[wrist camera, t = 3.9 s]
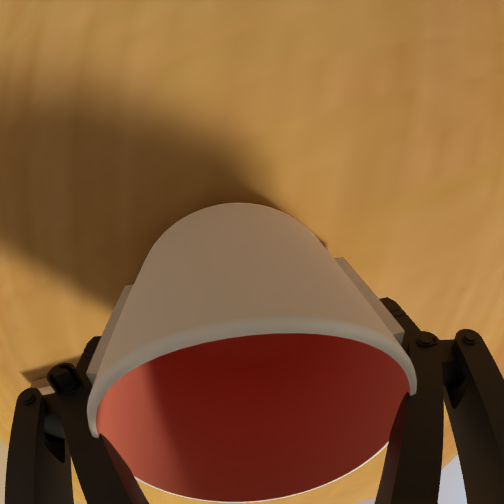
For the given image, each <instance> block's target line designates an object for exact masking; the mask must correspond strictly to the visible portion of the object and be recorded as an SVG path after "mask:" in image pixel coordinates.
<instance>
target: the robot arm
mask: <svg viewBox="0 0 504 504" xmlns="http://www.w3.org/2000/svg"><path fill="white" fill-rule="evenodd" d="M335 261H336V262H337V263H338V264H339V265H340V267H341V268H342V269H343V270H344V272H345V273H346V274H347V276H348V277H349V278H350V279H351V281H352V282H353V283H354V284H355V286H356V287H357V288H358V289H359V291H360V292H361V293H362V295H363V296H364V297H365V299H366V300H367V301H368V302H369V304H370V305H371V306H372V308H373V309H374V310H375V312H376V313H377V314H378V316H379V317H380V318H381V320H382V321H383V322H384V324H385V325H386V326H387V328H388V329H389V330H390V332H391V333H392V334H393V336H394V337H395V338H396V340H397V341H398V343H399V344H400V345H401V347H402V348H403V349H404V351H405V352H406V354H407V355H408V357H409V358H410V360H411V362H412V365H413V367H414V369H415V374H416V380H417V391H416V393H415V394H414V395H412V396H410V395H409V393H408V391H407V393H406V394H405V396H404V397H403V399H402V402H401V404H400V406H399V409H398V411H397V414H396V417H395V420H394V423H393V426H392V429H391V432H390V436H389V442H388V447H387V453H386V458H385V463H384V467H383V472H382V476H381V481H380V485H379V489H378V493H377V497H376V501H375V504H438V503H437V501H438V493H439V485H440V476H441V465H442V451H443V426H444V402H445V405H446V409H447V412H448V416H449V419H450V423H451V427H452V431H453V434H454V438H455V443H456V447H457V451H458V455H459V460H460V465H461V469H462V474H463V479H464V485H465V491H466V497H467V504H504V379H503V377H502V375H501V373H500V371H499V369H498V367H497V365H496V363H495V361H494V359H493V357H492V355H491V354H490V352H489V350H488V348H487V346H486V344H485V343H484V341H483V339H482V337H481V336H480V335H479V334H478V333H477V332H475V331H473V330H470V329H463V330H460V331H458V332H457V333H456V336H455V339H454V340H439V339H438V338H437V337H436V336H435V335H434V334H432V333H430V332H425V331H420V329H419V328H418V327H417V326H416V325H415V323H414V322H413V321H412V320H411V319H410V318H409V316H408V315H406V313H405V312H404V311H403V310H402V308H401V307H400V306H399V305H398V304H397V303H396V302H395V301H393V300H391V299H390V298H388V297H386V298H382V299H378V297H377V296H376V295H375V294H374V293H373V291H372V290H371V289H370V288H369V287H368V285H367V284H366V283H365V282H364V281H363V280H362V278H361V277H360V276H359V275H358V274H357V272H356V271H355V270H354V269H353V268H352V267H351V266H350V264H349V263H348V262H347V261H346V260H345V259H344V258H343V257H342V258H335ZM132 287H133V285H126V286H125V287H124V289H123V291H122V293H121V295H120V297H119V299H118V301H117V304H116V306H115V308H114V310H113V312H112V314H111V316H110V319H109V321H108V323H107V325H106V327H105V330H104V332H103V334H102V336H96V337H93V338H92V339H91V340H90V341H89V342H88V343H87V345H86V347H85V349H84V353H83V354H82V356H81V359H80V360H79V362H78V365H77V367H76V369H75V367H74V366H73V365H72V364H70V363H62V364H58V365H56V366H55V367H53V368H52V369H51V370H50V371H49V373H48V375H47V381H48V382H49V384H50V385H51V387H52V388H53V390H54V391H55V393H51V394H46V395H42V394H41V392H40V391H39V389H37V388H28V389H26V390H24V391H23V392H22V393H21V394H20V395H19V396H18V399H17V402H16V407H15V412H14V418H13V423H12V429H11V436H10V443H9V451H8V459H7V470H6V485H5V504H74V502H73V490H72V475H71V458H72V461H73V464H74V467H75V470H76V473H77V476H78V479H79V482H80V485H81V488H82V491H83V493H84V496H85V499H86V501H87V504H149V503H148V501H147V499H146V498H145V496H144V494H143V492H142V490H141V489H140V487H139V485H138V483H137V481H136V479H135V477H134V475H133V473H132V471H131V469H130V468H129V467H128V465H127V464H126V462H125V461H124V460H123V458H122V457H121V456H120V454H119V453H118V451H117V450H116V449H115V448H114V446H113V445H112V444H111V443H110V442H109V440H108V439H107V438H106V437H105V436H104V435H102V434H101V433H100V437H99V438H95V437H93V436H92V434H91V431H90V429H89V424H88V417H87V404H88V399H89V396H90V393H91V390H92V387H93V384H94V381H95V379H96V376H97V373H98V370H99V368H100V365H101V362H102V360H103V357H104V354H105V352H106V349H107V346H108V344H109V341H110V339H111V336H112V334H113V331H114V329H115V326H116V324H117V322H118V319H119V317H120V314H121V312H122V310H123V307H124V305H125V303H126V301H127V298H128V296H129V294H130V292H131V289H132ZM443 399H444V401H443Z"/></svg>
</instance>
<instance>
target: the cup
mask: <svg viewBox="0 0 504 504" xmlns="http://www.w3.org/2000/svg"><path fill="white" fill-rule="evenodd" d="M407 391H408V393H409V395H410V396H412V395H414V394H415V393H416V391H417V380H416V374H415V369H414V367H413V365H412V362H411V360H410V358H409V357H408V355H407V354H406V352H405V351H404V349H403V348H402V347H401V345H400V344H399V343H398V341H397V340H396V338H395V337H394V336H393V334H392V333H391V332H390V330H389V329H388V328H387V326H386V325H385V324H384V322H383V321H382V320H381V318H380V317H379V316H378V314H377V313H376V312H375V310H374V309H373V308H372V306H371V305H370V304H369V302H368V301H367V300H366V299H365V297H364V296H363V295H362V293H361V292H360V291H359V289H358V288H357V287H356V286H355V284H354V283H353V282H352V281H351V279H350V278H349V277H348V276H347V274H346V273H345V272H344V270H343V269H342V268H341V267H340V265H339V264H338V263H337V262H336V261H335V259H334V258H333V257H332V256H331V254H330V253H329V252H328V251H327V249H326V248H325V247H324V246H323V245H322V243H321V242H320V241H319V240H318V239H317V237H316V236H315V235H314V234H313V233H312V232H311V231H310V230H309V229H308V228H307V227H306V226H305V225H303V224H302V223H301V222H299V221H298V220H296V219H295V218H293V217H292V216H290V215H288V214H286V213H284V212H282V211H279V210H277V209H274V208H271V207H268V206H264V205H259V204H252V203H225V204H218V205H214V206H210V207H207V208H203V209H200V210H198V211H196V212H193V213H191V214H189V215H187V216H186V217H184V218H182V219H181V220H179V221H178V222H176V223H175V224H173V225H172V226H171V227H170V228H168V229H167V230H166V231H165V232H164V233H163V234H162V235H161V236H160V238H159V239H158V240H157V241H156V242H155V244H154V245H153V247H152V248H151V250H150V251H149V253H148V255H147V257H146V259H145V261H144V263H143V265H142V268H141V270H140V272H139V274H138V276H137V278H136V281H135V283H134V285H133V287H132V289H131V292H130V294H129V296H128V298H127V301H126V303H125V305H124V307H123V310H122V312H121V314H120V317H119V319H118V322H117V324H116V326H115V329H114V331H113V334H112V336H111V339H110V341H109V344H108V346H107V349H106V352H105V354H104V357H103V360H102V362H101V365H100V368H99V370H98V373H97V376H96V379H95V381H94V384H93V387H92V390H91V393H90V396H89V399H88V404H87V417H88V424H89V429H90V431H91V434H92V436H93V437H95V438H99V437H100V433H101V434H102V435H104V436H105V437H106V438H107V439H108V440H109V442H110V443H111V444H112V445H113V446H114V448H115V449H116V450H117V451H118V453H119V454H120V456H121V457H122V458H123V460H124V461H125V462H126V464H127V465H128V467H129V468H130V469H131V471H132V473H133V475H134V477H135V479H136V480H138V481H140V482H142V483H144V484H146V485H148V486H151V487H153V488H155V489H158V490H161V491H163V492H166V493H169V494H173V495H176V496H180V497H185V498H189V499H195V500H201V501H209V502H222V503H247V502H260V501H268V500H274V499H280V498H285V497H289V496H294V495H297V494H301V493H305V492H308V491H311V490H314V489H317V488H319V487H322V486H324V485H327V484H329V483H332V482H334V481H336V480H338V479H340V478H342V477H344V476H346V475H348V474H350V473H351V472H353V471H355V470H356V469H358V468H360V467H361V466H363V465H364V464H366V463H367V462H368V461H370V460H371V459H372V458H374V457H375V456H376V455H377V454H378V453H380V452H381V451H382V450H383V449H384V448H385V447H386V446H387V445H388V442H389V436H390V432H391V429H392V426H393V423H394V420H395V417H396V414H397V411H398V409H399V406H400V404H401V402H402V399H403V397H404V396H405V394H406V393H407Z"/></svg>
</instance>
